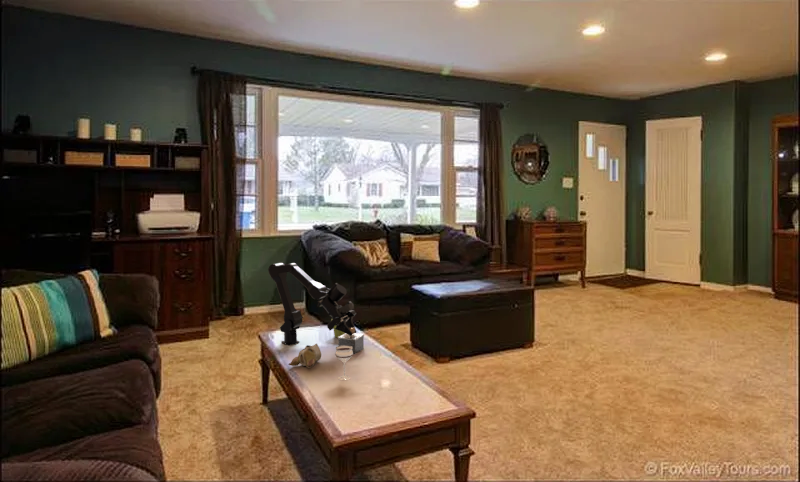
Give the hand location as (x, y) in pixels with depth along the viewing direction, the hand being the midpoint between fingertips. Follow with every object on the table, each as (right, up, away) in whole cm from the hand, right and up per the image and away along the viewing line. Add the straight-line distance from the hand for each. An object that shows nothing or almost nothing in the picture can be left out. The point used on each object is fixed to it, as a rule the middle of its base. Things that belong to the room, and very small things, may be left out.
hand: (353, 333), depth 232 cm
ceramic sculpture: (-18, -10, -18) cm, 27 cm away
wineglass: (-1, -11, -33) cm, 35 cm away
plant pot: (-9, -6, +24) cm, 26 cm away
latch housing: (-1, -8, +1) cm, 8 cm away
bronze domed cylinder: (-1, -6, +1) cm, 7 cm away
